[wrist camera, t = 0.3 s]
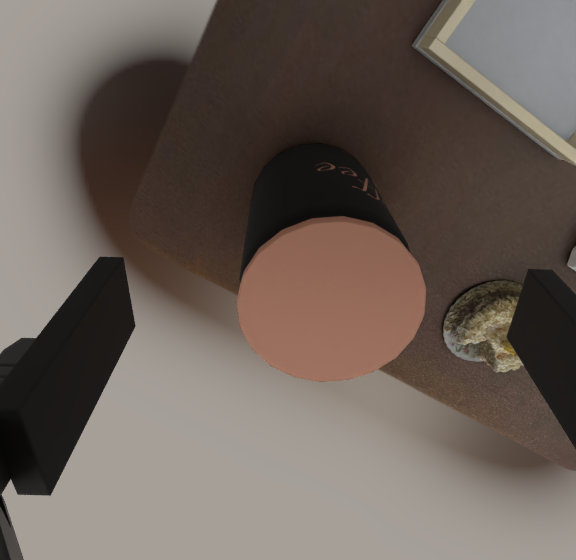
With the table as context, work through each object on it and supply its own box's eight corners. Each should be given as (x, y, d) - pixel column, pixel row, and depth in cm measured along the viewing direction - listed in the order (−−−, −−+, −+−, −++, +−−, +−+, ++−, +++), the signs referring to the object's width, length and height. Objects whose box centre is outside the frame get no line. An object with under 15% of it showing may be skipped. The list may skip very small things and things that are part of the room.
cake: (486, 259, 46) (514, 283, 41) (555, 305, 49) (589, 333, 44) (421, 334, 49) (440, 365, 44) (489, 373, 52) (514, 406, 47)
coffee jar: (391, 219, 43) (456, 335, 27) (291, 272, 45) (297, 407, 30) (336, 114, 38) (376, 181, 23) (228, 181, 41) (196, 282, 25)
